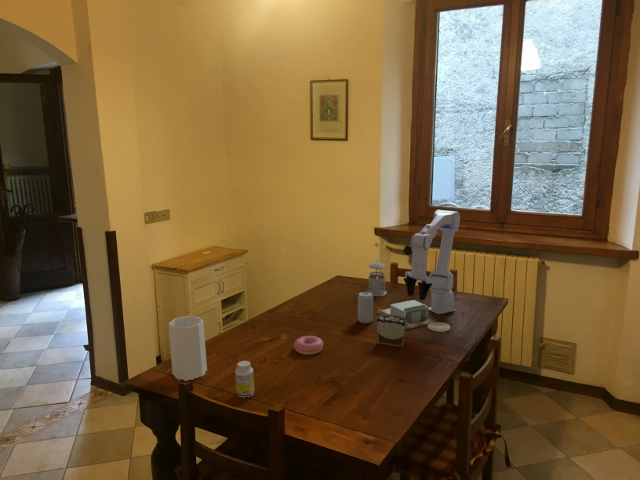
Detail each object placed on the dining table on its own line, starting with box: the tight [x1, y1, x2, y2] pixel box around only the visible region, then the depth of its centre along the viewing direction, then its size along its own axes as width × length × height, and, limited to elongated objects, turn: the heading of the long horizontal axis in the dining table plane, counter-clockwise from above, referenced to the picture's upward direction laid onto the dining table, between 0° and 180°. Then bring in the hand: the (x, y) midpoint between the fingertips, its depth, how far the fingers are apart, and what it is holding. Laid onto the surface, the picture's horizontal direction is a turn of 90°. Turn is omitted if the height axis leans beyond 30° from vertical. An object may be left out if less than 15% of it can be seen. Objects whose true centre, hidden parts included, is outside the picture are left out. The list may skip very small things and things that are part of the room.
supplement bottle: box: [234, 360, 256, 399], centre depth 159 cm, size 6×6×10 cm
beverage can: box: [357, 291, 374, 324], centre depth 216 cm, size 6×6×12 cm
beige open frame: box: [376, 308, 437, 330], centre depth 220 cm, size 15×21×2 cm
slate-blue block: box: [405, 310, 422, 324], centre depth 215 cm, size 4×4×5 cm
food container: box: [374, 314, 407, 348], centre depth 195 cm, size 12×6×10 cm, turn 65°
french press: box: [367, 242, 388, 297], centre depth 252 cm, size 10×12×25 cm
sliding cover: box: [389, 299, 429, 318], centre depth 218 cm, size 12×10×6 cm
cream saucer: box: [427, 321, 451, 333], centre depth 209 cm, size 9×9×1 cm
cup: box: [168, 315, 208, 382], centre depth 172 cm, size 11×11×18 cm
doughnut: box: [293, 335, 324, 356], centre depth 190 cm, size 11×11×4 cm
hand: (416, 297), depth 207 cm, fingers open, 7 cm apart
